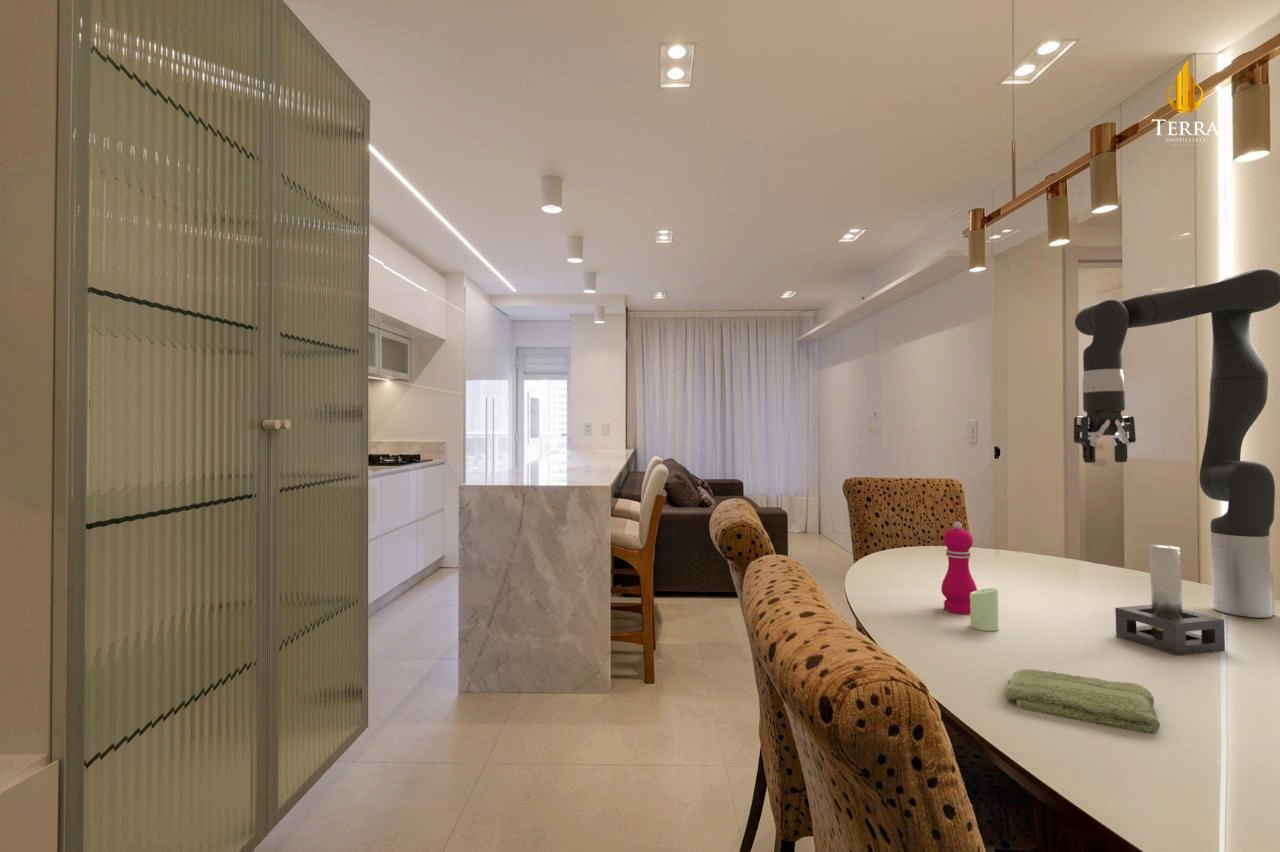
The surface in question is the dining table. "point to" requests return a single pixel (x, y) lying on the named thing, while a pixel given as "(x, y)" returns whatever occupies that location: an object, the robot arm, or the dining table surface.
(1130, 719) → the washcloth
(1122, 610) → the collar stand
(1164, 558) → the metal can
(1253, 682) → the dining table surface
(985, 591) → the candle
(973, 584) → the pepper mill
